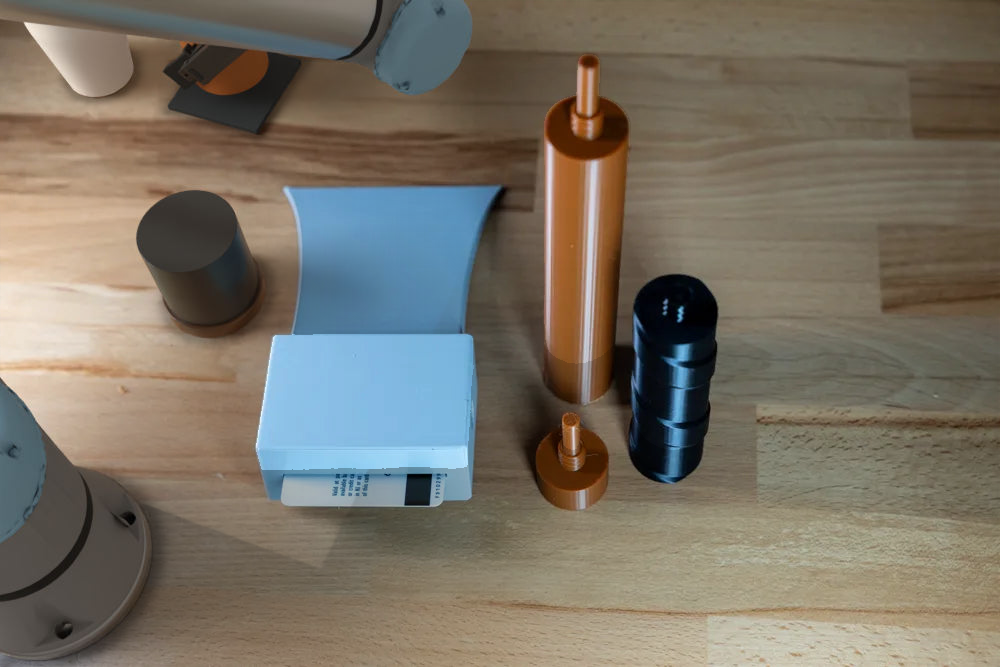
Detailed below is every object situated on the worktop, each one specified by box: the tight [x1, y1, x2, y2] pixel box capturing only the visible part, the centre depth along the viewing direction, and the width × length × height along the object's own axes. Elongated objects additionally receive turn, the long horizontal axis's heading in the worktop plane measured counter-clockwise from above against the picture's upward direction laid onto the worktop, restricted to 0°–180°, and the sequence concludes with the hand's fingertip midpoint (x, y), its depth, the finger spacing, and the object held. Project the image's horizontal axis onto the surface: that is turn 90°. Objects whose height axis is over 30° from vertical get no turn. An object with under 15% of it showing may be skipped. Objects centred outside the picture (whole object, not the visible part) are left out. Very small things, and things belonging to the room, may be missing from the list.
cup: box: [23, 22, 134, 98], centre depth 115 cm, size 9×9×12 cm
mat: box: [167, 52, 302, 135], centre depth 119 cm, size 10×10×1 cm
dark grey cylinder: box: [135, 189, 267, 339], centre depth 102 cm, size 9×9×10 cm
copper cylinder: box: [178, 41, 269, 95], centre depth 113 cm, size 8×8×8 cm
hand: (196, 48), depth 116 cm, fingers closed on copper cylinder, 8 cm apart
